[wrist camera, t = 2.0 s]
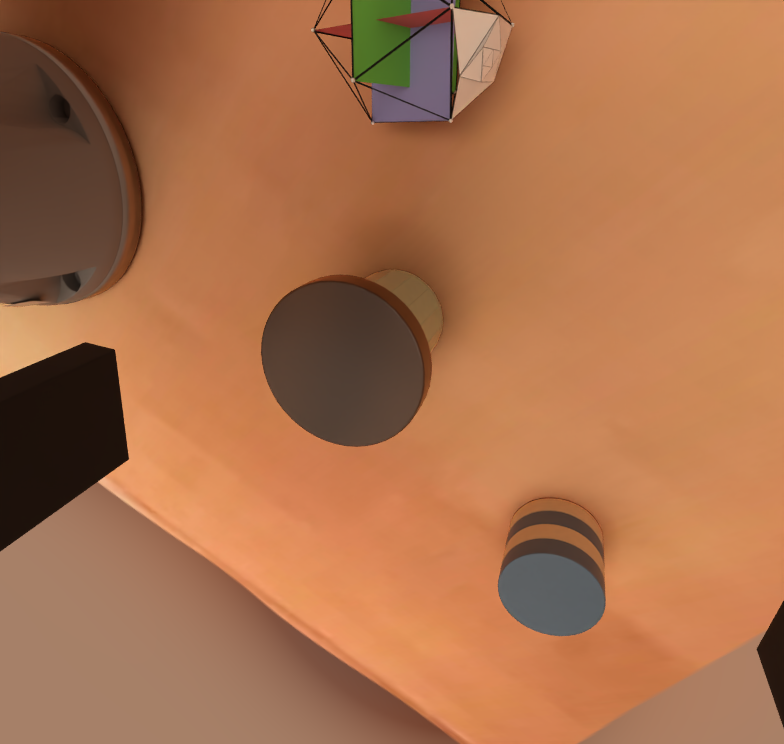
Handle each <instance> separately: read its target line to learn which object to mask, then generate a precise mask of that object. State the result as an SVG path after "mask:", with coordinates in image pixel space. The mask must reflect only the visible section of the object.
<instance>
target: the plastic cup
mask: <svg viewBox="0 0 784 744" xmlns="http://www.w3.org/2000/svg"><path fill="white" fill-rule="evenodd" d="M365 279H367V280H370V281H372V282H375V283H377V284H379V285H381V286H383V287H385V288H386V289H388V290H389V291H390V292H392V293H393V294H395V295H396V296H397V297H398V298H399V299H400V300H402V301H403V302H404V303H405V304H406V306H407V307H408V308H409V309H410V310H411V311H412V313H413V314H414V316H415V317H416V318H417V320H418V321H419V323H420V325H421V327H422V329H423V331H424V333H425V336H426V338H427V341H428V344H429V349H430V353H431V351H432V350H433V349H434V347H435V346H436V345H437V343H438V340H439V338H440V336H441V332H442V327H443V314H442V309H441V306H440V303H439V300H438V298H437V296H436V295H435V293H434V292H433V290H432V289H431V288H430V287H429V286H428V284H426V283H425V282H424V281H423V280H422V279H420V278H419V277H417V276H415V275H413V274H411V273H409V272H406V271H402V270H394V269H391V270H383V271H379V272H376V273H373V274H372V275H370V276H368V277H367V278H365Z"/></svg>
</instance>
